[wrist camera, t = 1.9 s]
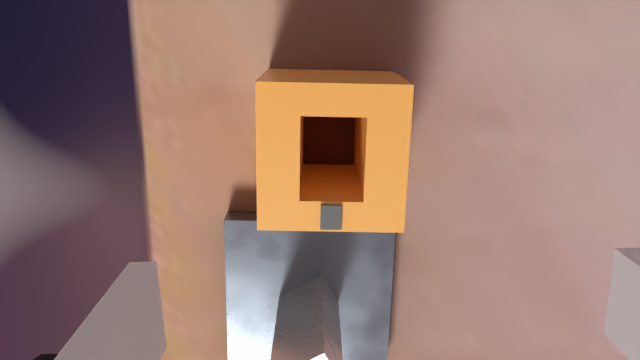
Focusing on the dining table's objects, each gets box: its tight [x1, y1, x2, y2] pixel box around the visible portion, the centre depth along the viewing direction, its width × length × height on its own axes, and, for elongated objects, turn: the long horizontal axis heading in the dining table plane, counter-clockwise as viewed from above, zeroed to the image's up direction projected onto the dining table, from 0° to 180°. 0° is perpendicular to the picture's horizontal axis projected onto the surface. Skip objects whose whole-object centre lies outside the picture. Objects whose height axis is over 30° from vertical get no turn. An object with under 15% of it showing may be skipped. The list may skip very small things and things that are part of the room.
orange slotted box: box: [255, 69, 414, 233], centre depth 28 cm, size 7×7×7 cm
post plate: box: [224, 212, 395, 360], centre depth 30 cm, size 10×10×10 cm
